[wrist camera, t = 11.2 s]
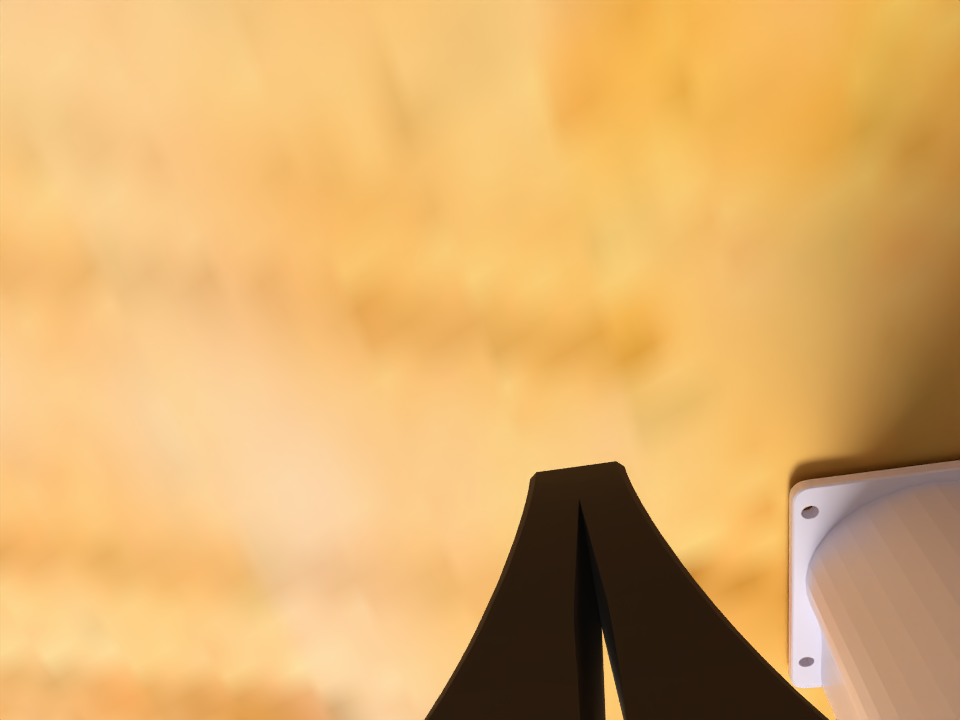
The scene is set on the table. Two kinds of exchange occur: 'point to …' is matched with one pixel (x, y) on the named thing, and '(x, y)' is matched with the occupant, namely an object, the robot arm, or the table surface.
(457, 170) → the table surface
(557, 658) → the robot arm
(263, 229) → the table surface
